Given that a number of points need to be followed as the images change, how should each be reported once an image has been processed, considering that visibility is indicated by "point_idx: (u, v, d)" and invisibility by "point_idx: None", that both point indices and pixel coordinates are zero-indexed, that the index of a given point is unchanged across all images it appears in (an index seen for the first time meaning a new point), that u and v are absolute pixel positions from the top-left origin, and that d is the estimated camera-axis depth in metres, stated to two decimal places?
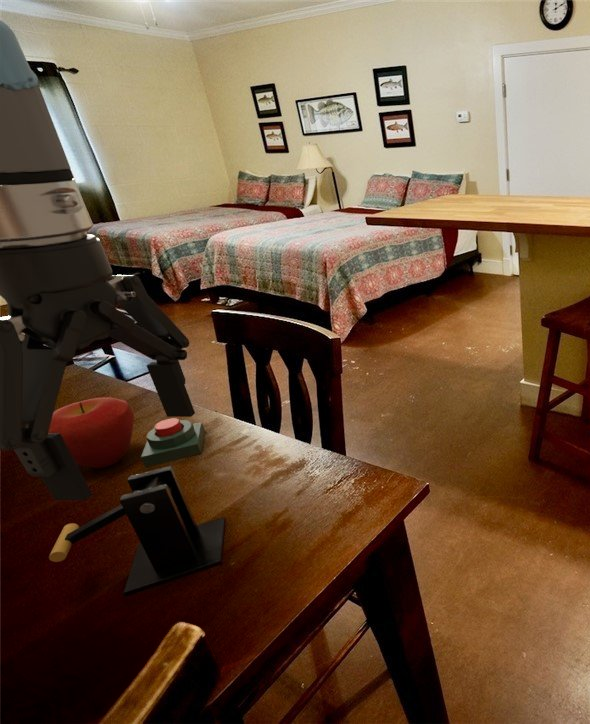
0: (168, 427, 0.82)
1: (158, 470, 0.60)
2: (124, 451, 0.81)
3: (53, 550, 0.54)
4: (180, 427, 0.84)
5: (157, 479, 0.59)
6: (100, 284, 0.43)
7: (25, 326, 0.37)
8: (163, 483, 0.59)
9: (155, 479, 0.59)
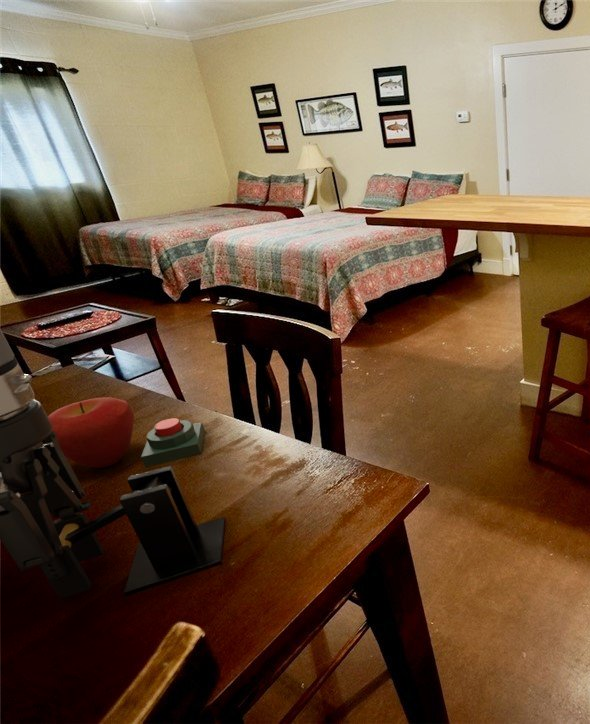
0: (168, 427, 0.82)
1: (158, 470, 0.60)
2: (124, 451, 0.81)
3: None
4: (180, 427, 0.84)
5: (157, 479, 0.59)
6: None
7: (8, 485, 0.48)
8: (163, 483, 0.59)
9: (155, 479, 0.59)
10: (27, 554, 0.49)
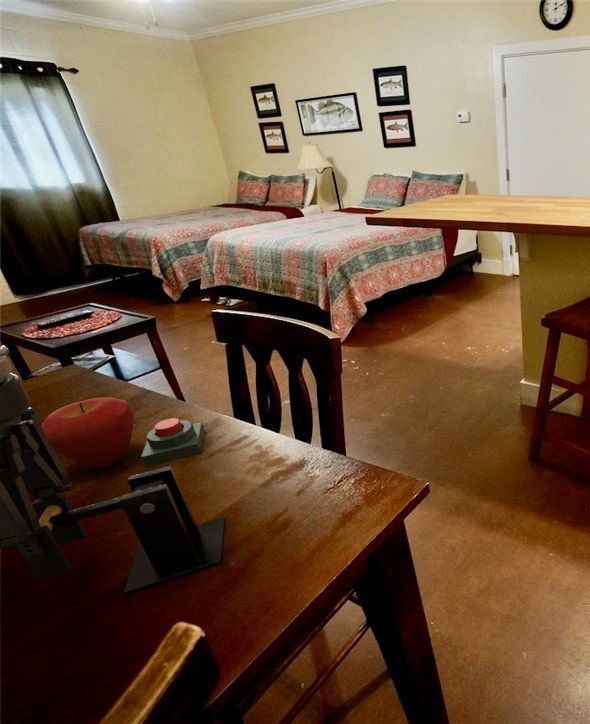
0: (168, 427, 0.82)
1: (158, 470, 0.60)
2: (124, 451, 0.81)
3: None
4: (180, 427, 0.84)
5: (162, 480, 0.59)
6: None
7: None
8: None
9: (160, 480, 0.59)
10: (2, 533, 0.47)
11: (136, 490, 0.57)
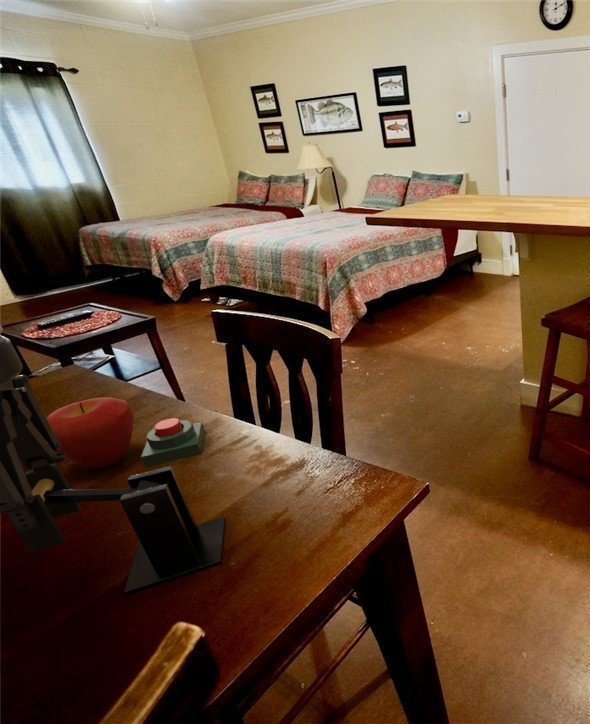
0: (168, 427, 0.82)
1: (158, 470, 0.60)
2: (124, 451, 0.81)
3: None
4: (180, 427, 0.84)
5: (167, 483, 0.59)
6: None
7: None
8: None
9: (165, 482, 0.59)
10: None
11: (140, 486, 0.57)
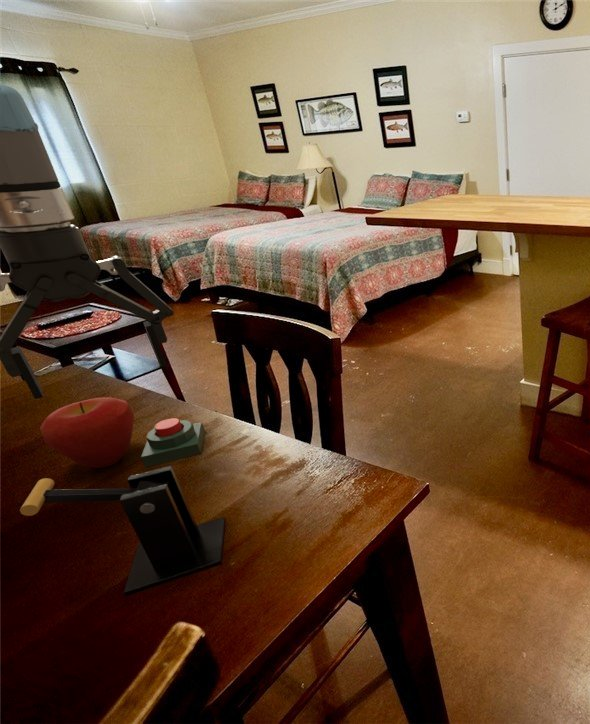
0: (168, 427, 0.82)
1: (158, 470, 0.60)
2: (124, 451, 0.81)
3: (31, 502, 0.51)
4: (180, 427, 0.84)
5: (167, 483, 0.59)
6: (80, 261, 0.61)
7: (10, 281, 0.58)
8: None
9: (165, 482, 0.59)
10: None
11: (140, 486, 0.57)
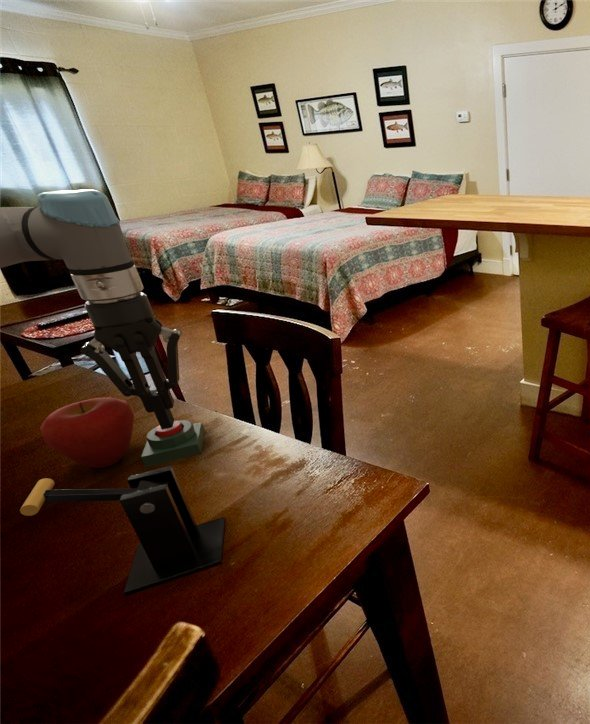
0: (169, 429, 0.82)
1: (158, 470, 0.60)
2: (124, 451, 0.81)
3: (31, 502, 0.51)
4: (181, 429, 0.84)
5: (167, 483, 0.59)
6: (145, 323, 0.75)
7: None
8: None
9: (165, 482, 0.59)
10: None
11: (140, 486, 0.57)
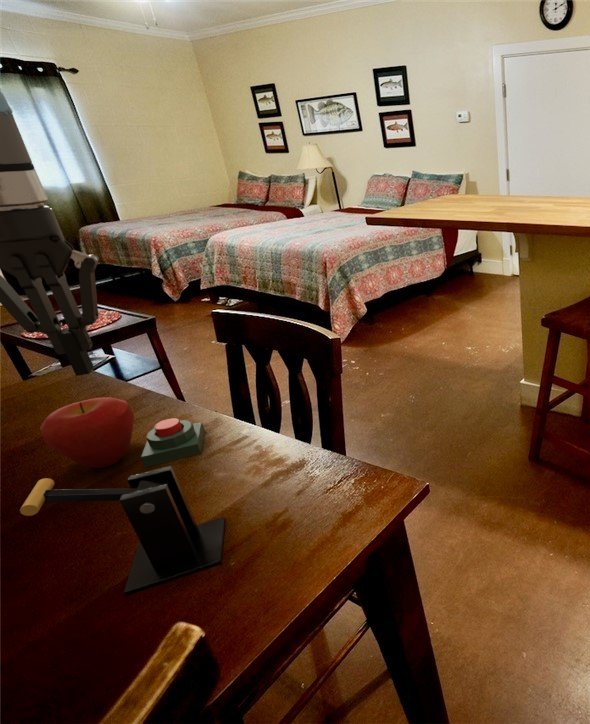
0: (168, 427, 0.82)
1: (158, 470, 0.60)
2: (124, 451, 0.81)
3: (31, 502, 0.51)
4: (180, 427, 0.84)
5: (167, 483, 0.59)
6: (50, 243, 0.63)
7: None
8: None
9: (165, 482, 0.59)
10: None
11: (140, 486, 0.57)
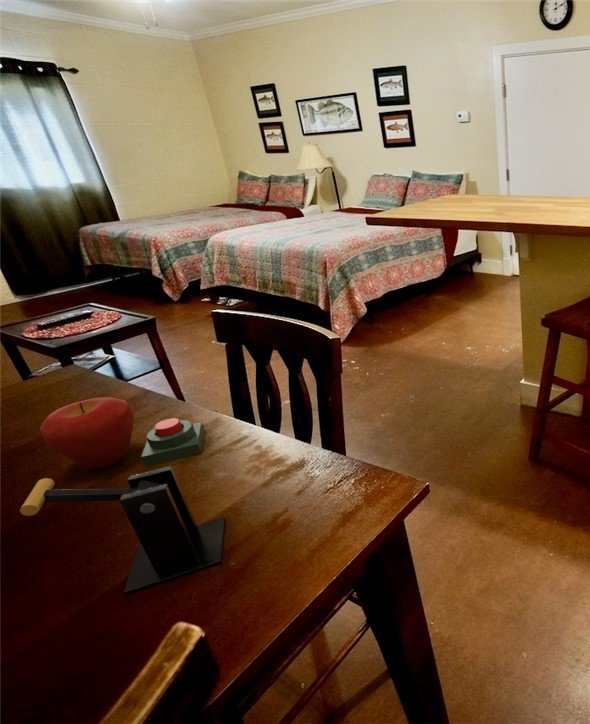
0: (168, 427, 0.82)
1: (158, 470, 0.60)
2: (124, 451, 0.81)
3: (31, 502, 0.51)
4: (180, 427, 0.84)
5: (167, 483, 0.59)
6: None
7: None
8: None
9: (165, 482, 0.59)
10: None
11: (140, 486, 0.57)
